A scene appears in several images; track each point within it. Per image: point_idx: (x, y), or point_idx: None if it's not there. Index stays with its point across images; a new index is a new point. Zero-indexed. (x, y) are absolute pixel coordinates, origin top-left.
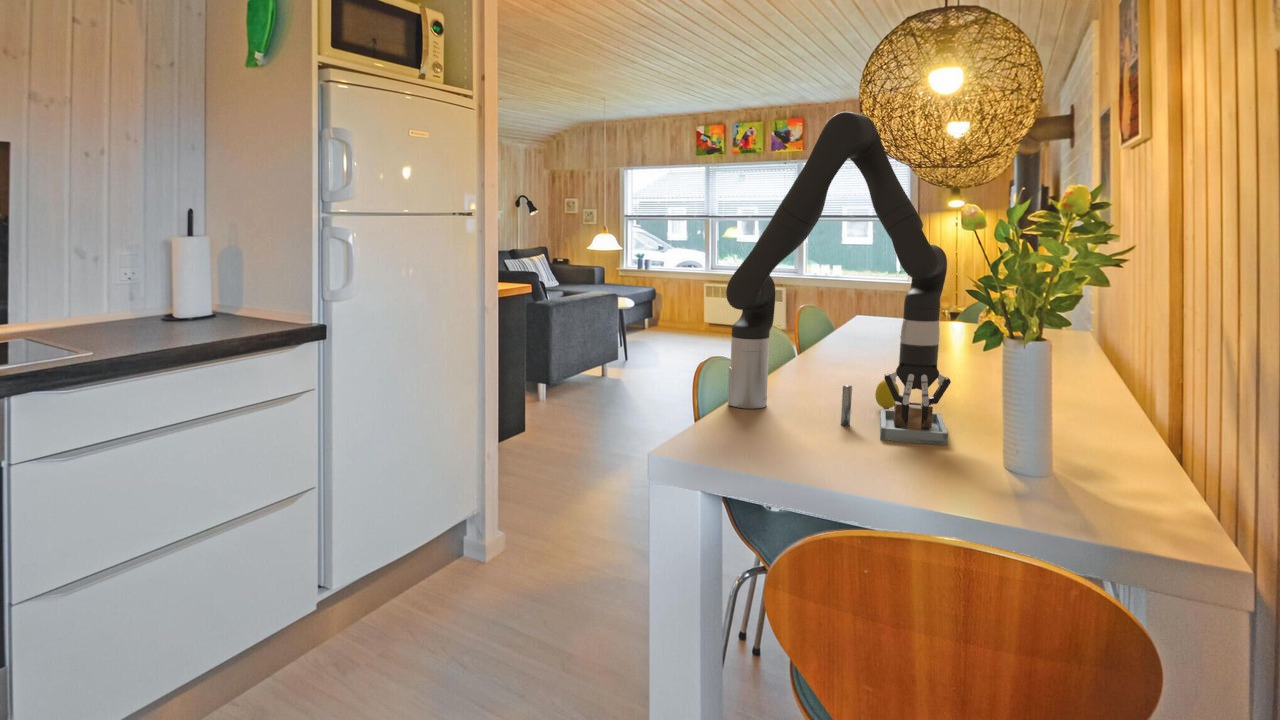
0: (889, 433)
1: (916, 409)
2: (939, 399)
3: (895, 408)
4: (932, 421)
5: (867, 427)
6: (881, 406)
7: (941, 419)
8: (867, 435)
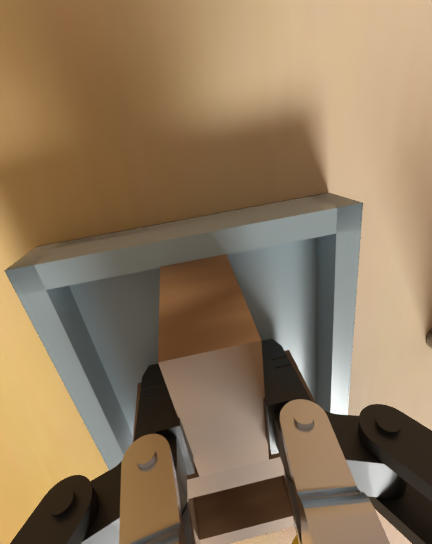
0: (307, 204)
1: (202, 345)
2: (15, 539)
3: None
4: None
5: (367, 345)
6: None
7: None
8: (377, 237)
